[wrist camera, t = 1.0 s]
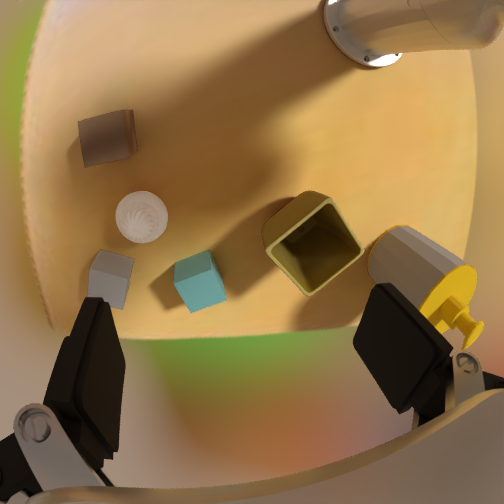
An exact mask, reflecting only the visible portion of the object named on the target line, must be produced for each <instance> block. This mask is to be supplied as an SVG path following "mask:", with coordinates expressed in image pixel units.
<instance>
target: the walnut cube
mask: <svg viewBox="0 0 504 504" xmlns="http://www.w3.org/2000/svg"><path fill="white" fill-rule="evenodd" d="M78 127H79V135H80V142H81V148H82V155H83V160H84V166H85V168H86V167H90V166H94V165H98V164H102V163H107V162H111V161H116V160H121V159H126V158H129V157H130V156H132V155H133V154H134V153H136V152H137V151H138V150H137V142H136V134H135V126H134V116H133V110H120V111H116V112H112V113H108V114H104V115H100V116H96V117H92V118H89V119H85V120H82V121H78Z"/></svg>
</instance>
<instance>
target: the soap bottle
mask: <svg viewBox="0 0 504 504" xmlns="http://www.w3.org/2000/svg"><path fill="white" fill-rule="evenodd" d="M367 267H368V274H369V275H370V277H371V278H372V279H373V280H374V281H375V283H376V284H379V283H388V282H389V283H392V284H393V285H394V286H395V287H396V288H397V289H398V290H399V291H400V292H401V293H402V294H403V295H404V296H405V297H406V298H407V299H408V300H409V301H410V302H411V303H412V304H413V305H414V306H415V307H416V308H417V309H418V310H419V311H420V312H421V313H422V314H423V315H424V316H425V317H426V319H427V320H428V321H429V322H430V323H431V324H432V325H433V326H434V327H435V328H436V329H437V330H438V331H439V332H440V333H441V334H442V333H443V332H444V331H446V330H447V329H448V328H451V329H456V328H458V329H460V331H461V332H462V333H463V334H464V335H465V336H466V337H465V339H464V343H463V347H462V348H461V350H465V349H467V348H468V347H469V346H470V345H471V344H472V343H473V342H474V341H475V340H476V339H477V338H478V336H479V335H480V334H481V332H482V330H483V328H484V323H483V322H482V321H479V322H478V323H476V322H475V321H474V320H473V319H472V318H471V317H470V316H469V315H468V314H469V310H470V309H469V307H468V304H469V302H470V300H471V298H472V295H473V293H474V291H475V287H476V281H477V276H476V270H475V269H474V268H473V267H472V266H470V265H469V264H467V263H466V262H464V261H463V260H462V259H460V258H459V257H457V256H456V255H454V254H453V253H451V252H450V251H448V250H447V249H445V248H443V247H442V246H440V245H439V244H437V243H436V242H434V241H432V240H431V239H429V238H428V237H426V236H424V235H423V234H421V233H419V232H418V231H416V230H415V229H413V228H411V227H410V226H408V225H396V226H394V227H392V228H390V229H388V230H386V231H385V232H384V233H383V234H382V235H381V236H380V237H379V238H378V239H377V240H376V242H375V244H374V246H373V247H372V249H371V251H370V253H369V258H368V262H367Z"/></svg>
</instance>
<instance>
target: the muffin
mask: <svg viewBox="0 0 504 504" xmlns="http://www.w3.org/2000/svg"><path fill="white" fill-rule="evenodd" d="M115 219H116V224H117V226H118V229H119V230H120V232H121V233H122V235H123V236H124V237H126V238H127V239H128V240H130V241H132V242H135V243H148V242H151V241H154V240H155V239H157V238H158V237H160V236H161V235H162V233H163V232H164V231H165V229H166V226H167V223H168V212H167V209H166V206H165V205H164V203H163V202H162V200H161V199H160V198H159V197H157V196H156V195H155V194H153V193H151V192H148V191H136V192H132V193H130V194H128V195H126V196H125V197H124V198H123V199H122V200H121V201H120V202H119V204H118V206H117V209H116V214H115Z"/></svg>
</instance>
